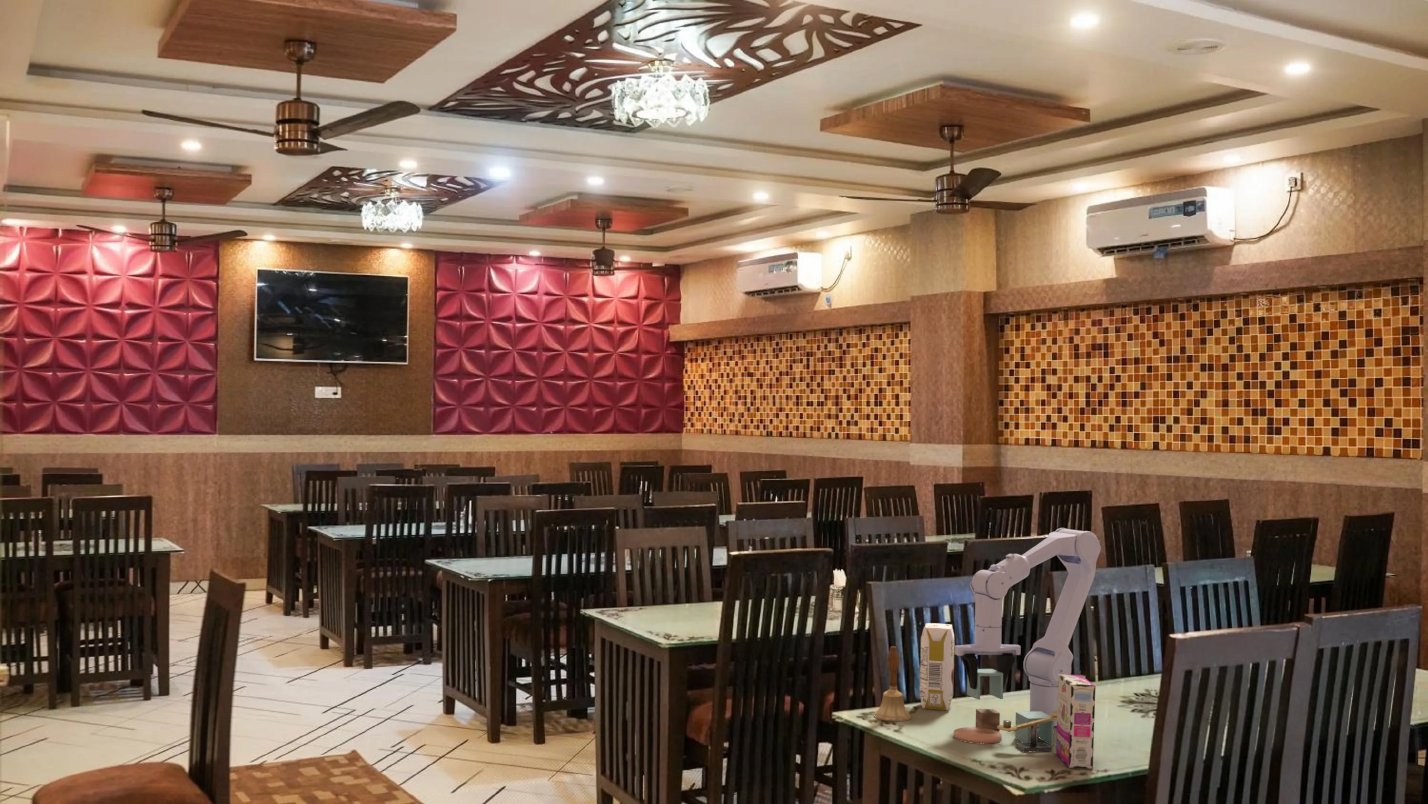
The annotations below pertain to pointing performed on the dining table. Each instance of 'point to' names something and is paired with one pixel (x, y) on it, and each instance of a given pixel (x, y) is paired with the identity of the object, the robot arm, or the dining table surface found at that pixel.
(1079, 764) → the candy bar box
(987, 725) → the walnut block
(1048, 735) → the teal cover
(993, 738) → the terracotta dish
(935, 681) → the juice carton
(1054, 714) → the balance
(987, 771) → the dining table surface
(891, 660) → the hand bell
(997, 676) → the teal cover
